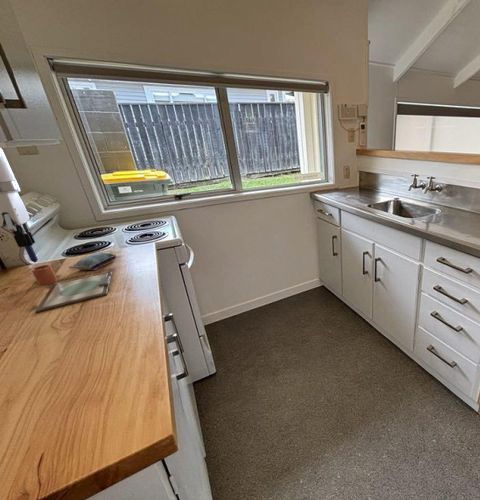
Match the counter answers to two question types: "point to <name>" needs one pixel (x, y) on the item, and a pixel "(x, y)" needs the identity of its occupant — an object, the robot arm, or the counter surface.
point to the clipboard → (75, 291)
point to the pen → (31, 253)
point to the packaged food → (93, 261)
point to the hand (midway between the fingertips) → (27, 244)
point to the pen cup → (44, 274)
